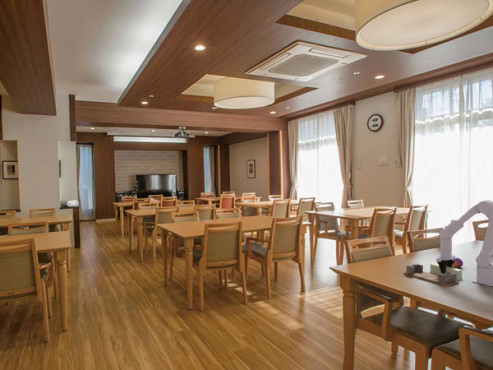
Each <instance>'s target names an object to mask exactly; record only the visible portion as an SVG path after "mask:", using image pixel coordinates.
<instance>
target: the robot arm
mask: <svg viewBox="0 0 493 370" xmlns="http://www.w3.org/2000/svg"><path fill="white" fill-rule="evenodd" d="M478 214H483V215H484V216H485V217H486V218H487V219H488V220H489V221H488V224H487V227H486V232H485V236H484V239H483V243H482V247H481V250H480V252H479V254H478V255H477V257H476V258H475V263H476V279H475V280H472V282H473V283H475V284H480V285H484V286H488V287H491V286H493V201H492V200H489V199H486V200H482V201H479V202H478V203H477V204H475V205H473V206H472V207H471V208H469V209H468V210H467V211H466V212H465V213H464V214H463V215H462V216H461V217H459V218H458V219H457V218H454V219H451V220H450V223H449V224H447V225H445V226H444V228H441V229H440V231H439V233H438V234H439V237H440V243H439V245H440V246H439V247H440V248H439V252H440V253H439V255H438V257H436V260H435V261H436V264H438V265H439V267H440V271H441V273H443V274H445V273H446V267H447V266H448V267H452V266H453V264H454V263H455V261H454V260H453V259H455V258H456V256H455V255H452V254H453V252H452V250H453V249H452V248H453V238H454V235H455V234H457V232H459V231H460V230H462V229H463V228H464V227H465V225H464V224H465V223H466V222H467V221H469V220H470V219H471V218H473V217H474V216H476V215H478Z"/></svg>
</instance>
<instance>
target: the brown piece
mask: <svg viewBox="0 0 493 370" xmlns="http://www.w3.org/2000/svg"><path fill="white" fill-rule="evenodd" d="M452 260H454V261H455V263H454V264H453V266H452V268H456V269H459V268H461V267H462V266H463V265H464V261H463V260H462V259H461V258H459V257H455V259H452Z"/></svg>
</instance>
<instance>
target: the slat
mask: <svg viewBox="0 0 493 370" xmlns="http://www.w3.org/2000/svg"><path fill="white" fill-rule="evenodd" d="M429 267H430V269H429V273H430V274H434V275H438V274H443V273H441V271H440V267H439V265H438V263H430V264H429ZM447 272H451V273H455V274H456V281H459V280H461V279H462V280H463V270H462V269H459V268H457V267H453V268H452V267H448V266H447V267H446V273H445V274H443V275H447Z"/></svg>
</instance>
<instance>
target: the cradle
mask: <svg viewBox="0 0 493 370" xmlns="http://www.w3.org/2000/svg"><path fill="white" fill-rule="evenodd" d="M403 275H406V276H409V277H412V278H416V279H419V280H423V281H426V282H429V283H432V284H435V285H438V286H442V287H445V288H447V287H451V286H455V285H458V284H460V281H459V280H457V279H456V274H455V273H451V272H447V275H443V274H435V273H431V272H426V271H424V265H423V264H419V263H412V264H407V265H406V271H404V272H403Z"/></svg>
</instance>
